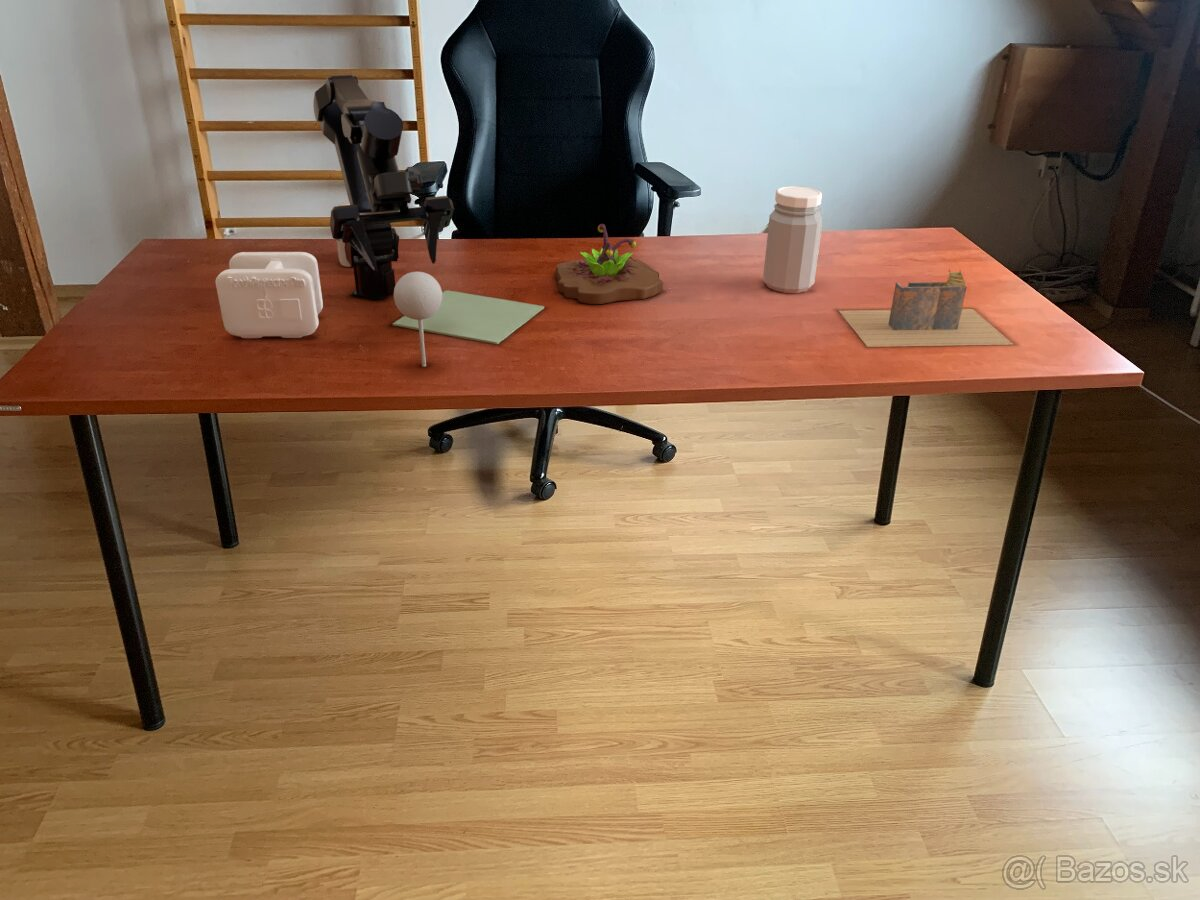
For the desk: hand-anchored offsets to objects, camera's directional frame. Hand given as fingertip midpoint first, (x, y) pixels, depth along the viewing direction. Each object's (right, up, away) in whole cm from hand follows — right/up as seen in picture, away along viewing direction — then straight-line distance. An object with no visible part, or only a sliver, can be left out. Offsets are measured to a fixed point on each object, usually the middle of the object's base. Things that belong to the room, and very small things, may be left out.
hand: (405, 266), depth 145 cm
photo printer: (-18, +10, +44) cm, 48 cm away
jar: (+66, +3, +35) cm, 75 cm away
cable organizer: (-24, -8, +12) cm, 28 cm away
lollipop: (+3, -16, 0) cm, 16 cm away
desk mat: (+8, -5, +18) cm, 20 cm away
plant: (+31, +3, +33) cm, 46 cm away
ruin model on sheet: (+86, -7, +17) cm, 88 cm away
